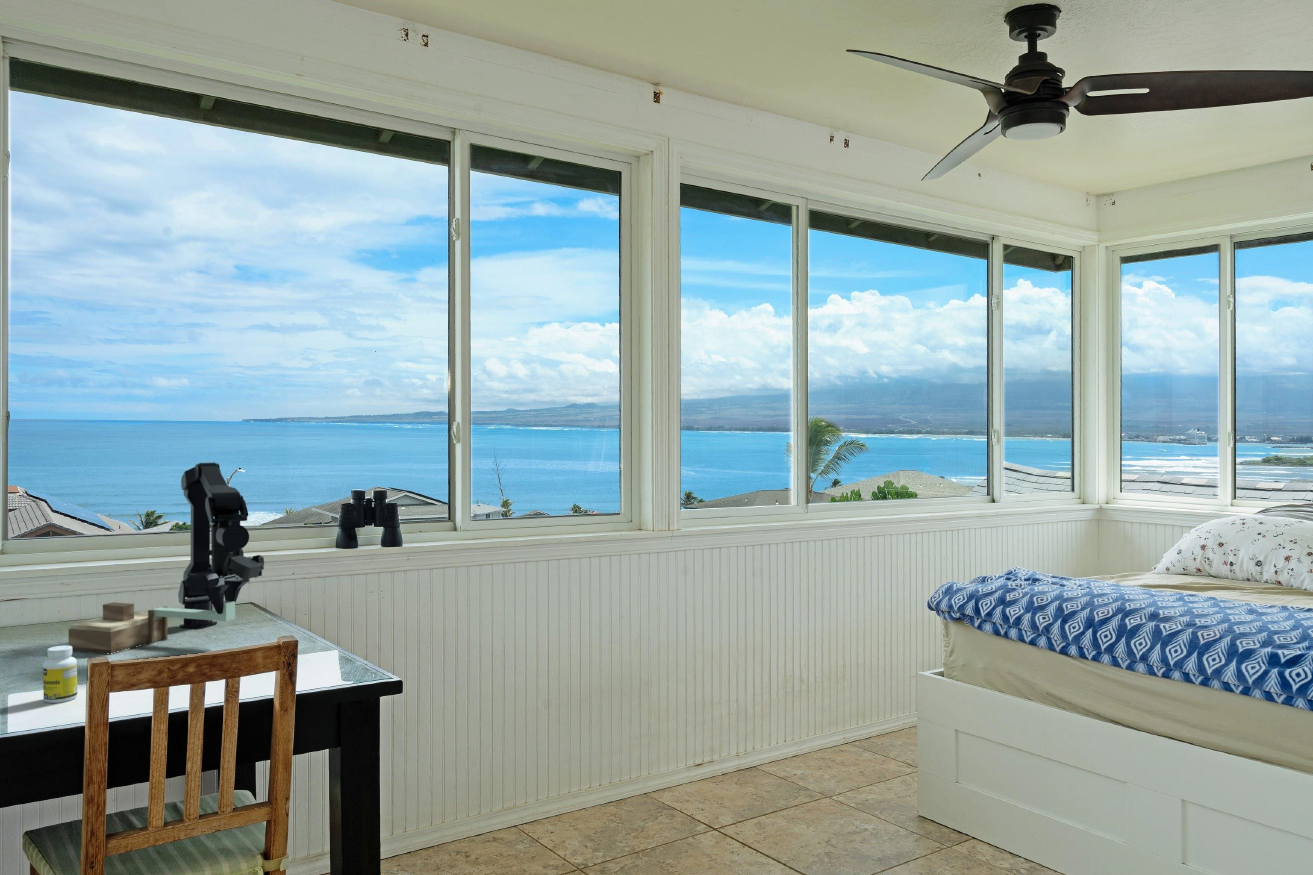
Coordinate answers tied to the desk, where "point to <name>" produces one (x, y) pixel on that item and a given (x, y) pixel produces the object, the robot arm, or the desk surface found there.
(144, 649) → the desk surface
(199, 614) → the key
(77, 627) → the lid
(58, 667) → the supplement bottle
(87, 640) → the box
